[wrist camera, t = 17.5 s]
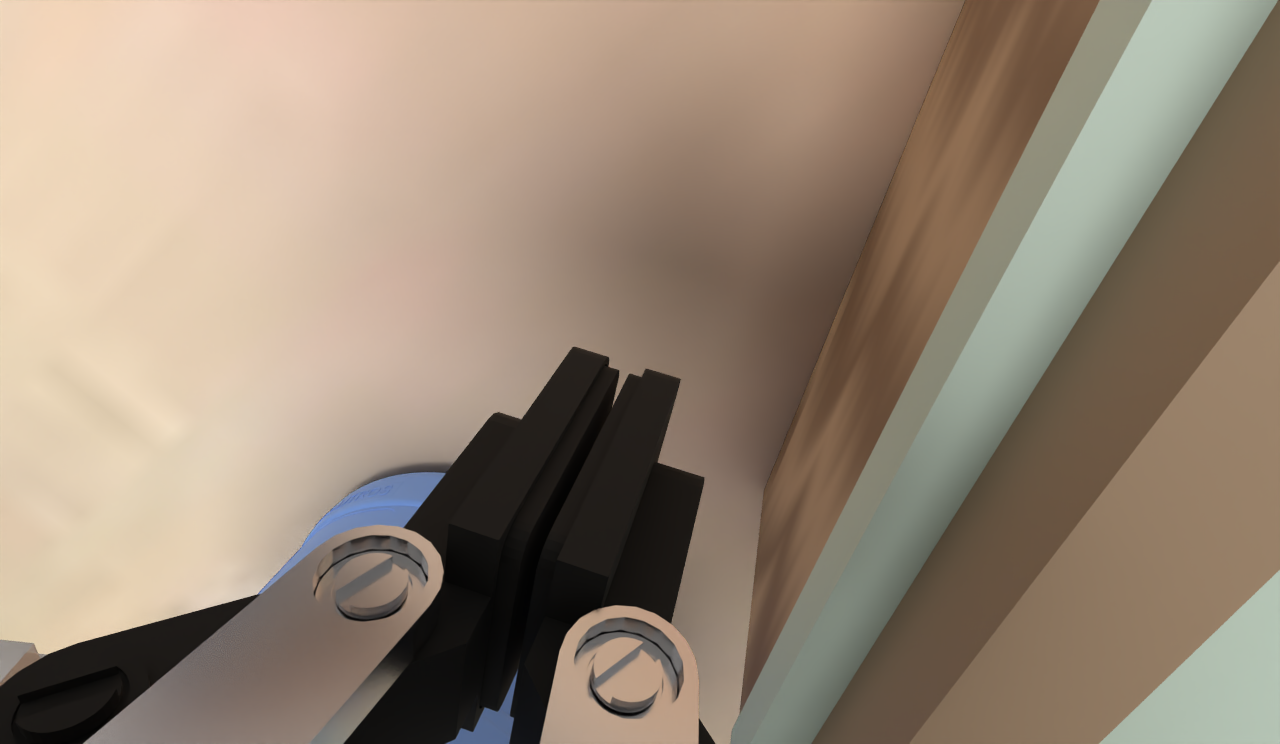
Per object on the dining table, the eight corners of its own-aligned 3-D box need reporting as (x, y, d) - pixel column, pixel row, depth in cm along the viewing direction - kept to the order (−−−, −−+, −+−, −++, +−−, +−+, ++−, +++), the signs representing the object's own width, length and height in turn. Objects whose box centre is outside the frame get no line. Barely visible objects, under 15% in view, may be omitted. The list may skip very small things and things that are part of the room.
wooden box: (1184, 625, 23) (1366, 935, 15) (764, 491, 24) (739, 715, 17) (1734, 71, 14) (2886, 161, 6) (1005, -98, 15) (1199, -196, 7)
